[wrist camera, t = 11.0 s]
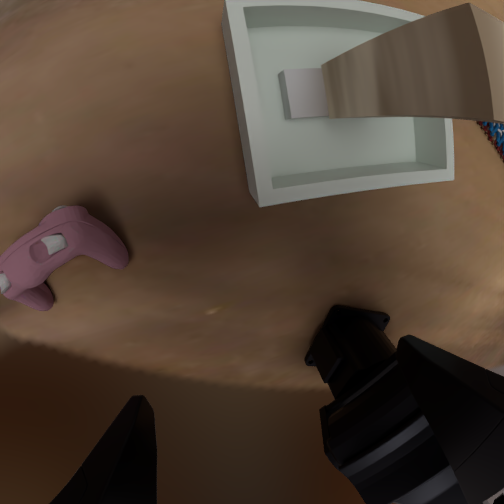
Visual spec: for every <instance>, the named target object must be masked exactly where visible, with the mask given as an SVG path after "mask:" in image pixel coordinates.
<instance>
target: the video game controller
mask: <svg viewBox="0 0 504 504" xmlns="http://www.w3.org/2000/svg"><path fill="white" fill-rule="evenodd" d="M77 255H87V256H89V257H92V258H94V259H96V260H99V261H100V262H102V263H104V264H106V265H107V266H109V267H112V268H114V269H124V268H125V267H126V266H127V264H128V262H129V258H128V251H127V249H126V247H125V245H124V244H123V242H122V241H121V240H120V238H119V237H118V236H117V235H116V234H115V233H114V231H113V230H112V229H110V228H109V227H108V226H107V225H105V224H104V223H103V222H101V221H99V220H98V219H96V218H94V217H93V216H91V215H89V214H88V212H87V209H86V208H85V207H82V206H58V207H57V208H55V209H54V210H53V211H52V213H50V214H48V215H47V216H45V217H44V218H43V219H42V221H41V222H40V223H39V226H38V227H36V228H34V229H33V230H31V231H30V232H28V233H27V234H25V235H23V236H22V237H21V238H19V239H18V240H17V241H16V242H14V243H13V244H12V245H11V246H10V247H9V248H8V249H7V250H6V251H5V252H4V253H3V254H2V255H1V256H0V290H1V294H4V296H5V297H6V298H8V299H11V300H15V301H18V302H21V303H23V304H25V305H27V306H29V307H31V308H33V309H36V310H39V311H47V310H50V309H51V308H52V306H53V302H54V301H53V296H52V293H51V291H50V289H49V288H48V287H47V286H46V285H45V284H44V283H43V282H44V281H45V280H46V279H47V278H48V276H49V275H50V274H51V273H52V272H53V270H55V269H56V268H58V267H60V266H61V265H63V264H65V263H66V262H68V261H69V260H71V259H73V258H74V257H76V256H77Z"/></svg>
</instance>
